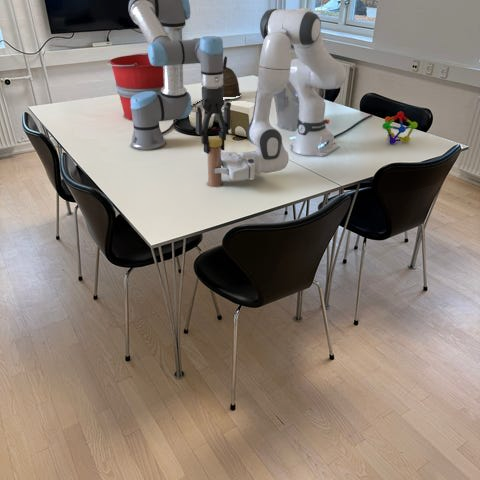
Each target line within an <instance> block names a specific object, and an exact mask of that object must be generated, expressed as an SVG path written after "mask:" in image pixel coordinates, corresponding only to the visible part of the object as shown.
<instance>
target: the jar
mask: <svg viewBox="0 0 480 480" xmlns="http://www.w3.org/2000/svg"><path fill="white" fill-rule="evenodd" d="M221 152H222V150H221V146H219V147H209V153H208V154H207V153H206V154H207V180H208V181H207V182H208V183H207V184H208V185H209V186H211V187H220V186H222V185H223V183H222V182H223V180H222V179H223V178H222V177H223V176H222V175H223V174H221V173H215V172H214V168H217V167H219V168H222V166H221Z"/></svg>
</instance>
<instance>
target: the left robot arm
mask: <svg viewBox="0 0 480 480" xmlns="http://www.w3.org/2000/svg"><path fill="white" fill-rule="evenodd" d="M128 13H129V16H130V19H131V20H132V21H133V23H134V24H135V25H137V26H138V28H139V30H140V31H141V33H142V35H143V37H144V38H145V40H146V43H148V45H147V53H148V57H149V61H150V63H151V65H153V66H163V78H164V86H163V87H162V88H161V94H159V95H157V94H156V92H154V91H145V92H140V93H137V94H135V95H133V96H132V98H131V110H132V118H133V120H132V125H133V132H132V135H131V142H130V143H131V147H132V148H134V149H135V150H141V151H151V150H153V151H154V150H157V149H161V148H163V147H164V146H165V144H166V140H165V137H164V134H166V133H168V132H170V130H172V129H173V127H174V126H175V124H176V123H177V122H179V120H182V119H187V118H188V117H189V116H190V114H191V111H192V108H193V109H194V111H195V134H197V135H198V136H200V139H201V144H202V145H203V152H204V153H205V154H208V153H209V137H210V136H209V134H208V130H209V125H210V121H211V118H212V116H213V115H214V114H215V115H216V119H217V122H218V125H219V129H220V130H219V131H218V137H220V138H222V145H221V151H225V149H226V148H225V142H226V141H227V134H228V132H229V131H231V129H232V123H231V122H232V120H231V107H232V103H231V102H230V101H229V100H223V97H224V90H223V87H222V85H223V62H224V44H223V43H224V42H223V39H222V37H220V36H216V35H205V36H202V37H199V38H198V37H195V38H192V39H187V40H183V29H184V28H185V26H186V21H188V20H190V18H191V5H190V0H129V1H128ZM192 64H193V65H194V64H195V65H196V64H200V80H201V81H200V82H201V86H202V87H201V99H202V100H201V99H200V100H201V101H199V100H198V101H199V102H198V101H196V102H197V103H196V102H195V103H196V104H194V103H193V104H192V96H191V94H190V92H188V90H187V88H186V87H185V86H184V65H192ZM199 103H201V104H199ZM198 104H199V105H198ZM192 105H193V106H192ZM222 109H223V110H222ZM203 110H204V112H203ZM176 119H178V120H177V121H176V122H175V123H174V122H172V123H171V125H170V126H169V128H167V129H166V130H163V131H162V130H161V127H160V122H166V121H175V120H176Z"/></svg>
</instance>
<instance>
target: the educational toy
mask: <svg viewBox="0 0 480 480" xmlns="http://www.w3.org/2000/svg"><path fill="white" fill-rule="evenodd" d="M397 119H399V124H400V125H399V127H398V126H393V125H391V124H392V123H394V122H395V121H396V120H397ZM403 120H404V121H405V122H407V123H408V124H409V125H407V126H404V123H403ZM417 127H418V122H417V121H411V120H410V119H409V118H408V117H406V116H405V113H404V112H403V111H401V110H400V111H398V112H397V114H396V115H394V116H391V117H390V116H386V117H385V118H384V122H383V123H382V129H383V130H386V132H387V138H388V142H389V145H395V144H396V143H397V142H402V141H403V142H404V143H409V142H410V140H411V138H410V136H411V134H412V132H413V131H414V130H415V129H417ZM392 129H393V130H397V131H398V132H396V134H395V133H394V132H392ZM408 129H409V131H408V133H407V134H406V135H404V136H401V134H403V133H405V132H406V130H408ZM399 135H400V136H399Z"/></svg>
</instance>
